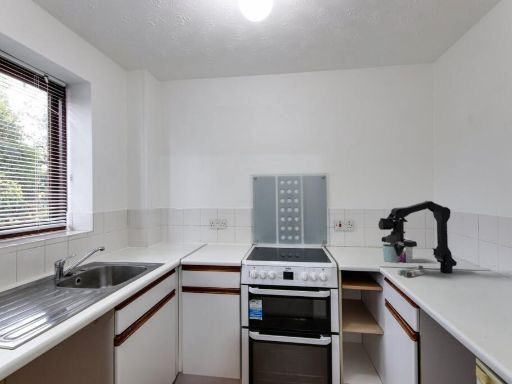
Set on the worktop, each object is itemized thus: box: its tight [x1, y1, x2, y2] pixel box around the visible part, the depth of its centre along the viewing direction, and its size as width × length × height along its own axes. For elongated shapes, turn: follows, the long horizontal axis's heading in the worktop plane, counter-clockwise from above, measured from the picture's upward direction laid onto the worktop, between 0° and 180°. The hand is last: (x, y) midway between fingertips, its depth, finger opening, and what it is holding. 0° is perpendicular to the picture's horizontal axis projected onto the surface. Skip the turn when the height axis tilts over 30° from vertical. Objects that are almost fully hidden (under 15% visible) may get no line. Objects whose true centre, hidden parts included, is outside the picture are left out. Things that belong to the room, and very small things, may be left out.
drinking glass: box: [382, 243, 399, 264], centre depth 170 cm, size 10×10×12 cm
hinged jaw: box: [397, 267, 419, 276], centre depth 144 cm, size 14×2×3 cm, turn 105°
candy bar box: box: [398, 236, 413, 264], centre depth 173 cm, size 11×5×16 cm, turn 179°
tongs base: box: [403, 265, 426, 278], centre depth 145 cm, size 18×18×5 cm
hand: (398, 256), depth 146 cm, fingers closed
